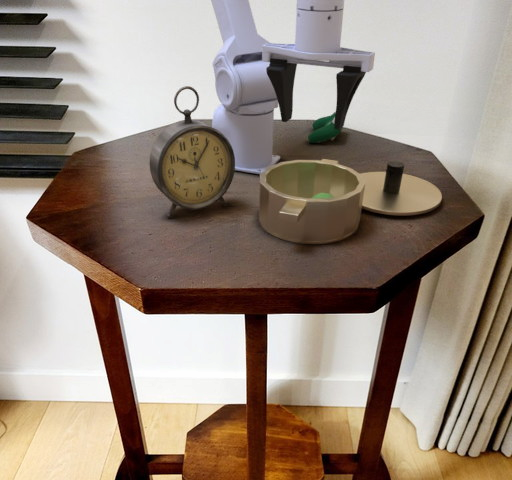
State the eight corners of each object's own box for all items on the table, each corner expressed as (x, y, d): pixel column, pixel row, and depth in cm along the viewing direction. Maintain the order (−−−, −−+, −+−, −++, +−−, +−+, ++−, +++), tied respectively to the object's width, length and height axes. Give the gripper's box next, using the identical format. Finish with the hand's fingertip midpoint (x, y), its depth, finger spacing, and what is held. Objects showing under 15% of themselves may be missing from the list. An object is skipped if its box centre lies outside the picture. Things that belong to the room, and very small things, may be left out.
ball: (298, 201, 72) (322, 195, 69) (315, 191, 74) (338, 185, 71) (307, 230, 73) (331, 225, 70) (324, 219, 75) (347, 214, 73)
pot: (236, 241, 70) (235, 198, 66) (284, 186, 83) (286, 148, 80) (339, 262, 66) (344, 218, 62) (371, 201, 80) (377, 161, 76)
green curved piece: (318, 155, 99) (344, 133, 96) (305, 138, 98) (331, 116, 94) (323, 138, 106) (348, 118, 103) (311, 123, 105) (336, 101, 101)
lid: (329, 208, 77) (333, 174, 74) (353, 172, 88) (357, 141, 85) (433, 227, 73) (442, 191, 70) (445, 187, 84) (453, 154, 81)
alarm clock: (164, 224, 73) (151, 96, 63) (151, 208, 77) (136, 85, 66) (237, 209, 77) (236, 86, 67) (221, 194, 81) (218, 76, 70)
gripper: (386, 8, 66) (371, 122, 75) (278, 1, 71) (275, 109, 80) (371, 15, 61) (356, 137, 70) (255, 7, 66) (255, 122, 75)
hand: (312, 123), depth 74 cm, fingers open, 7 cm apart
